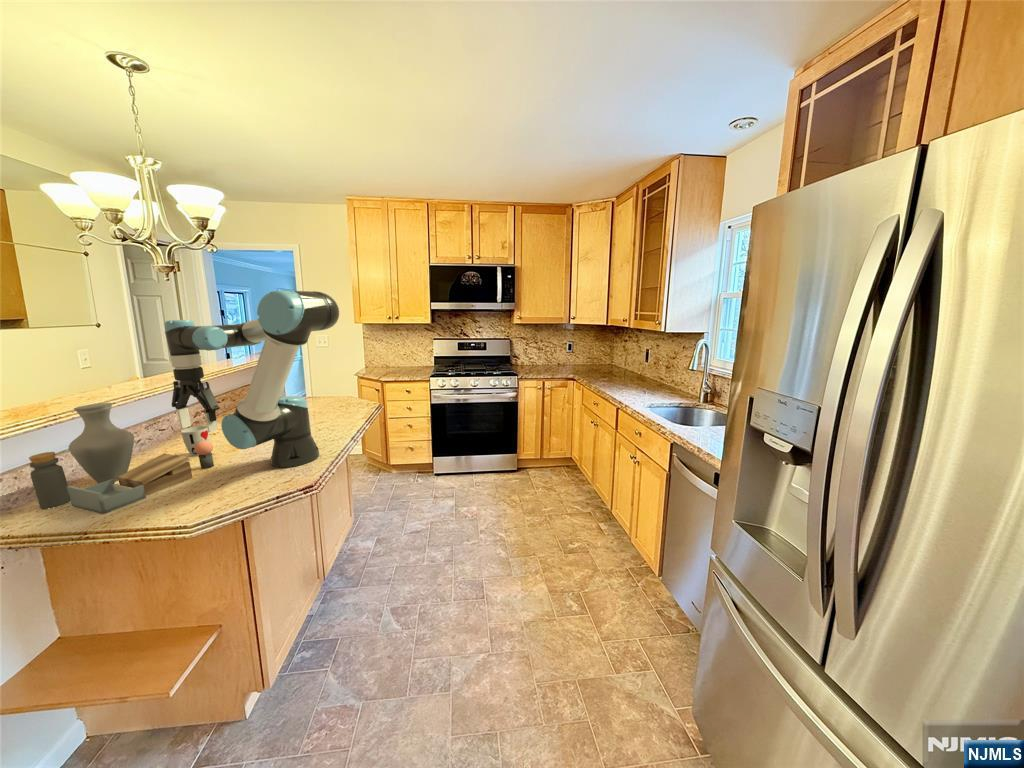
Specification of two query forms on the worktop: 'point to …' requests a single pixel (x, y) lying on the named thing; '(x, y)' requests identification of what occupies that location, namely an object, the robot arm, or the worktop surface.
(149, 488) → the ramp
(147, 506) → the worktop surface
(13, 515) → the worktop surface
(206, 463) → the tee
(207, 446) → the ball
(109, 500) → the bin
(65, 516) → the worktop surface
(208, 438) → the cup
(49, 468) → the bottle
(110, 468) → the vase
